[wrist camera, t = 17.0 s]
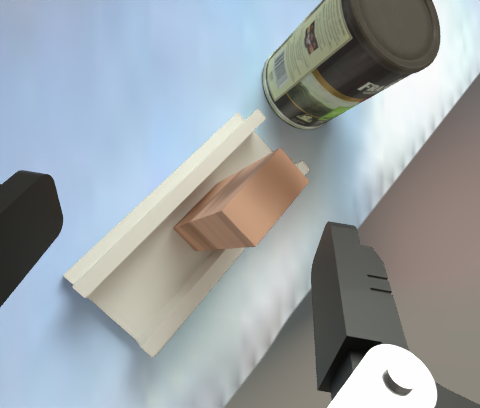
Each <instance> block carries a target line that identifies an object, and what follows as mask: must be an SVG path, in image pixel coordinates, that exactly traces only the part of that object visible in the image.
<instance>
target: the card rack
mask: <svg viewBox="0 0 480 408" xmlns="http://www.w3.org/2000/svg"><path fill="white" fill-rule="evenodd" d="M265 119H266V117H265V116H264V115H263V114H262V113H261V112H260V110H259V109H257V110H256V111H255V112H253V113H252V114H251V115H250V116H249V117H248V118H246V119H245V120H244V119H243V118H242V117H241V115H240V114H239V113H238V112H237V113H236V114H235V115H234V116H233V117H232V118H231V119H230V120H229V121H228V122H227V123H226V124H225V125H224V126H222V127H221V128H220V129H219V130H218V131H217V132H216V133H215V134H214V135H213V136H212V137H211V138H210V139H209V140H207V141H206V142H205V143H204V144H203V145H202V146H201V147H200V148H199V149H198V150H197V151H196V152H195V153H194V154H192V155H191V156H190V157H189V158H188V159H187V160H186V161H185V162H184V163H183V164H182V165H181V166H180V167H179V168H177V169H176V170H175V171H174V172H173V173H172V174H171V175H170V176H169V177H168V178H167V179H166V180H165V181H163V182H162V183H161V184H160V185H159V186H158V187H157V188H156V189H155V190H154V191H153V192H152V193H151V194H150V195H148V196H147V197H146V198H145V199H144V200H143V201H142V202H141V203H140V204H139V205H138V206H137V207H136V208H135V209H133V210H132V211H131V212H130V213H129V214H128V215H127V216H126V217H125V218H124V219H123V220H122V221H121V222H120V223H118V224H117V225H116V226H115V227H114V228H113V229H112V230H111V231H110V232H109V233H108V234H107V235H106V236H105V237H103V238H102V239H101V240H100V241H99V242H98V243H97V244H96V245H95V246H94V247H93V248H92V249H91V250H89V251H88V252H87V253H86V254H85V255H84V256H83V257H82V258H81V259H80V260H79V261H78V262H77V263H76V264H74V265H73V266H72V267H71V268H70V269H69V270H68V271H67V272H66V273H65V274H64V275H63V276H64V277H65V278H66V279H67V280H68V281H70V282H71V283H72V284H73V286H72V288H74V289H75V290H76V291H77V292H78V293H79V294H80V295H82V296H83V297H84V298H86V297H88V298H89V299H90V300H91V301H92V302H93V303H94V304H96V305H97V306H98V307H99V308H100V309H101V310H102V311H104V312H105V313H106V314H107V315H108V316H109V317H110V318H112V319H113V320H114V321H115V322H116V323H117V324H118V325H119V326H121V327H122V328H123V329H124V330H125V331H126V332H127V333H129V334H130V335H131V336H132V337H133V338H134V339H135V340H136V341H137V343H138V344H139V345H140V347H141V348H142V349H143V350H144V351H145V352H146V353H148V354H149V355H150V356H151V357H152V358H153V357H154V356H156V355H157V354H158V353H159V351H160V350H161V349H162V348H163V347H164V345H165V344H166V343H167V342H168V341H169V339H170V338H171V337H172V336H173V335H174V333H175V332H176V331H177V330H178V329H179V327H180V326H181V325H182V324H183V323H184V321H185V320H186V319H187V318H188V317H189V315H190V314H191V313H192V312H193V311H194V309H195V308H196V307H197V306H198V305H199V303H200V302H201V301H202V300H203V299H204V297H205V296H206V295H207V294H208V293H209V291H210V290H211V289H212V288H213V287H214V285H215V284H216V283H217V282H218V281H219V279H220V278H221V277H222V276H223V275H224V273H225V272H226V271H227V270H228V269H229V267H230V266H231V265H232V264H233V263H234V261H235V260H236V259H237V258H238V257H239V255H240V254H241V253H242V252H243V251H244V249H245V248H246V247H244V248H231V249H218V250H206V251H195V250H194V249H193V248H192V247H191V246H190V245H189V244H188V243H187V242H186V241H185V240H184V239H183V238H182V237H181V236H180V235H179V234H178V233H177V232H176V231H175V230H174V229H173V227H174V226H175V225H176V224H177V223H178V222H179V221H180V220H181V219H182V218H183V217H184V216H185V215H186V214H187V213H188V212H189V211H190V210H191V209H192V208H193V207H194V206H195V205H196V204H197V203H198V202H199V201H200V200H201V199H202V198H203V197H204V196H205V195H206V194H207V193H208V192H209V191H210V190H211V189H212V188H213V187H214V186H215V185H216V184H217V183H219V182H221V181H222V180H224V179H226V178H228V177H229V176H231V175H233V174H235V173H237V172H238V171H240V170H242V169H244V168H245V167H247V166H249V165H251V164H253V163H254V162H256V161H258V160H260V159H261V158H263V157H265V156H267V155H269V154H270V153H272V151H271V150H270V149H269V147H268V146H267V145H266V144H265V143H264V142H263V141H262V139H261V138H260V137H259V136H258V135H257V134H256V133H255V131H254V130H255V129H256V128H257V127H258V126H259V125H260V124H261V123H262V122H263V121H264V120H265ZM295 165H296V166H297V168H298V169H299V170H300V171H301V172H302V173H303V175H304V176H305V175H306V174H307V172H308V171H309V170H310V169H309V168H308V166H307V165H306V164H305V163H304V162H303V161H300V162H298V163H296V164H295Z"/></svg>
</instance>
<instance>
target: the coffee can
mask: <svg viewBox="0 0 480 408" xmlns="http://www.w3.org/2000/svg"><path fill="white" fill-rule="evenodd" d="M439 45H440V25H439V20H438V16H437V12H436V9H435V6H434V4H433V2H432V0H322V1H321V2H320V3H319V5H318V6H317V7H316V8H315V9H314V10H313V11H312V12H311V13H310V14H309V15H308V16H307V17H306V18H305V20H304V21H303V22H302V23H301V24H300V25H299V26H298V27H297V28H296V29H295V30H294V32H293V33H292V34H291V35H290V36H289V37H288V38H287V39H286V40H285V41H284V42H283V44H282V45H281V46H280V47H279V48H278V49H277V50H276V51H275V52H273V53H272V54H271V55H270V56H269V58H268V59H267V61H266V63H265V66H264V70H263V87H264V91H265V94H266V97H267V99H268V101H269V103H270V105H271V107H272V108H273V109H274V111H275V112H276V113H277V114H278V115H279V117H281V118H282V119H283V120H284V121H286V122H287V123H289V124H290V125H292V126H294V127H297V128H301V129H315V128H318V127H320V126H322V125H324V124H325V123H326V122H328V121H330V120H331V119H333V118H335V117H337V116H338V115H340V114H342V113H344V112H345V111H347V110H349V109H350V108H352V107H354V106H356V105H358V104H359V103H361V102H363V101H365V100H366V99H368V98H370V97H372V96H374V95H375V94H377V93H379V92H381V91H382V90H384V89H386V88H388V87H389V86H391V85H393V84H395V83H397V82H398V81H400V80H402V79H404V78H405V77H407V76H409V75H411V74H413V73H416V72H419V71H421V70H423V69H424V68H426V67H428V66H429V65H430V64H431V63H432V62H433V61H434V59H435V57H436V56H437V53H438V50H439Z"/></svg>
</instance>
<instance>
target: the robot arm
mask: <svg viewBox="0 0 480 408" xmlns="http://www.w3.org/2000/svg"><path fill="white" fill-rule="evenodd" d="M62 225H63V214H62V210H61V206H60V203H59V199H58V195H57V191H56V187H55V183H54V180H53V178H52V177H51V176H50V175H48V174H42V173H36V172H30V171H24V170H21V171H18V172H16V173H15V174H14V175H13V176H11V177H10V178H9V179H8V180H7V181H5V182H4V183H3V184H2V185H1V184H0V307H1V306H2V305H3V303H4V302H5V301H6V300H7V298H8V297H9V296H10V295H11V293H12V292H13V291H14V290H15V289H16V287H17V286H18V285H19V284H20V282H21V281H22V280H23V279H24V277H25V276H26V275H27V274H28V272H29V271H30V270H31V269H32V268H33V266H34V265H35V264H36V263H37V261H38V260H39V259H40V258H41V256H42V255H43V254H44V253H45V251H46V250H47V249H48V248H49V246H50V245H51V244H52V243H53V242H54V240H55V239H56V238H57V237H58V235H59V233H60V231H61V229H62ZM387 279H388V277H387V274H386V270H385V267H384V263H383V261H382V260H381V259H380V257H379V256H378V255H377V253H376V252H375V251H374V249H373V248H372V247H368V246H363V245H360V241H359V237H358V232H357V228H356V227H355V226H353V225H347V224H341V223H335V222H327V224H326V226H325V228H324V231H323V234H322V237H321V240H320V243H319V246H318V248H317V251H316V254H315V257H314V260H313V264H312V271H311V288H312V305H313V322H314V339H315V355H316V373H317V390H319V391H325V392H331V398H332V402H331V404H330V405H329V406H328V408H480V405H479V404H477V403H475V402H473V401H471V400H469V399H466V398H465V397H462V396H461V395H458V394H456V393H454V392H452V391H450V390H448V389H446V388H444V387H443V386H441V385H439V384H438V383H436V382H435V381H434V380H433V377H432V376H431V374H430V372H429V370H428V369H427V368H426V367H425V365H424V364H423V363H422V362H421V361H420V360H419V359H418V358H417V357H415V356H414V355H413V354H411V353H410V352H409V349H408V346H407V342H406V339H405V336H404V332H403V329H402V325H401V322H400V319H399V315H398V312H397V308H396V305H395V301H394V298H393V295H391V292H392V291H391V287H390V284H389V281H387Z"/></svg>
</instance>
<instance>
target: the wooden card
mask: <svg viewBox="0 0 480 408" xmlns="http://www.w3.org/2000/svg"><path fill="white" fill-rule="evenodd" d="M308 182H309V180H308V179H307V178H306V177H305V176H304V175H303V173H302V172H301V171H300V170H299V169H298V168H297V166H296V165H295V164H294V163H293V162H292V161H291V159H290V158H289V157H288V156H287V155H286V154H285V153H284V151H283V150H282V149H281V148H279V149H277V150H276V151H274V152H272V153H270V154H269V155H267V156H265V157H263V158H261V159H260V160H258V161H256V162H254V163H253V164H251V165H249V166H247V167H245V168H244V169H242V170H240V171H238V172H237V173H235V174H233V175H231V176H229V177H228V178H226V179H224V180H222V181H221V182H219V183H217V184H216V185H215V186H214V187H213V188H212V189H211V190H210V191H209V192H208V193H207V194H206V195H205V196H204V197H203V198H202V199H201V200H200V201H199V202H198V203H197V204H196V205H195V206H194V207H193V208H192V209H191V210H190V211H189V212H188V213H187V214H186V215H185V216H184V217H183V218H182V219H181V220H180V221H179V222H178V223H177V224H176V225H175V226H174V227H173V229H174V230H175V231H176V232H177V233H178V234H179V235H180V236H181V237H182V238H183V239H184V240H185V241H186V242H187V243H188V244H189V245H190V246H191V247H192V248H193V249H194V250H195V251H206V250H218V249H231V248H244V247H256V245H257V244H258V243H259V242H260V241H261V239H262V238H263V237H264V236H265V234H266V233H267V232H268V231H269V230H270V228H271V227H272V226H273V225H274V224H275V222H276V221H277V220H278V219H279V218H280V216H281V215H282V214H283V213H284V211H285V210H286V209H287V208H288V207H289V205H290V204H291V203H292V202H293V201H294V199H295V198H296V197H297V196H298V195H299V193H300V192H301V191H302V190H303V188H304V187H305V186H306V185H307V184H308Z"/></svg>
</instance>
